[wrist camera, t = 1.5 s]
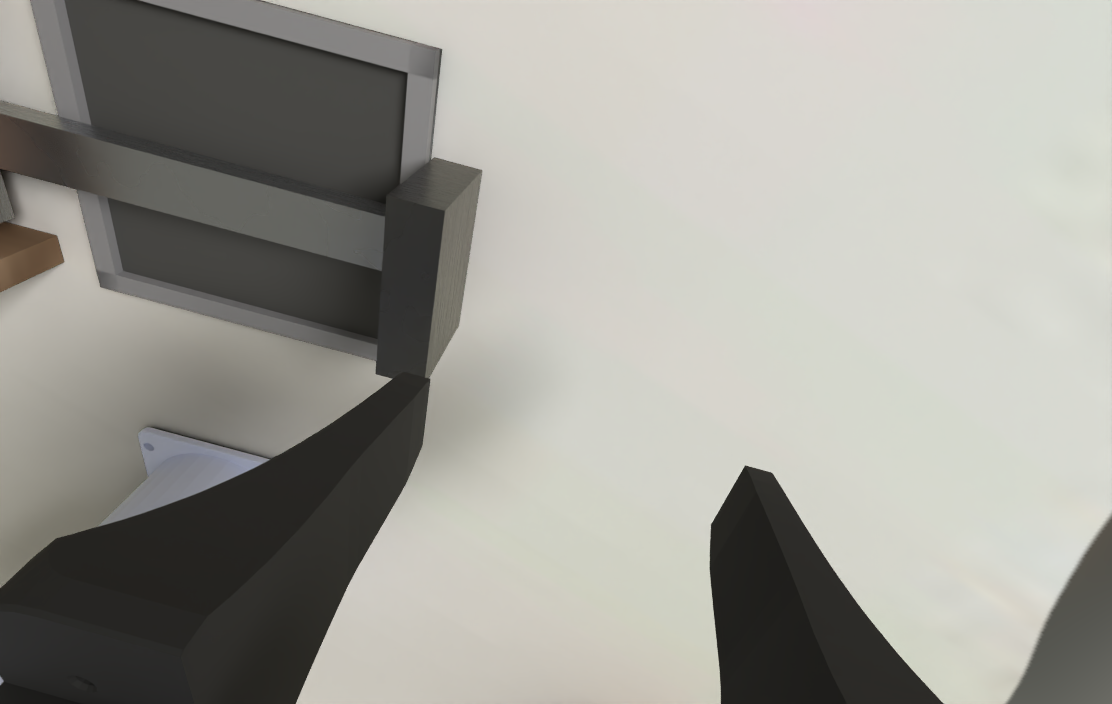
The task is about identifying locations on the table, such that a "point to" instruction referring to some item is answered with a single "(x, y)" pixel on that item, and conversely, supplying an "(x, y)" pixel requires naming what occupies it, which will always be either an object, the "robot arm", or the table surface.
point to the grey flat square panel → (243, 145)
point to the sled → (281, 217)
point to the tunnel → (25, 254)
